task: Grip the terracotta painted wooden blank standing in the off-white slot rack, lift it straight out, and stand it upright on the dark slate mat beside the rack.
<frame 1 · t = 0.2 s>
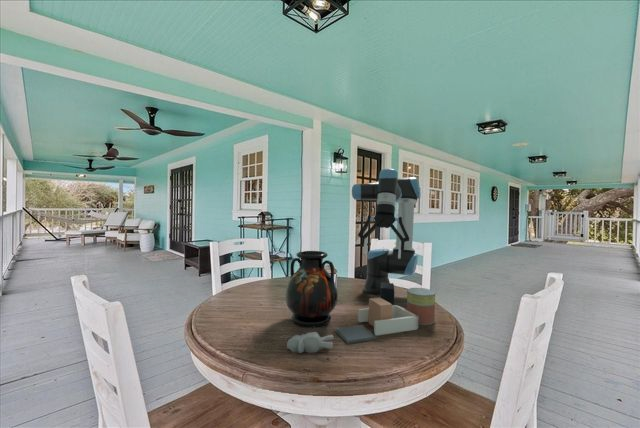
hand: (381, 256, 120), 27 cm above the table, tool tilted 15°, fingers open, 13 cm apart
blank: (380, 313, 120), in the slot rack
bunny figurine: (310, 350, 100), on the table
slate mat: (355, 335, 111), on the table
slot rack: (379, 326, 120), on the table
amphora vase: (311, 320, 125), on the table
canned food: (420, 320, 127), on the table
small box: (386, 307, 143), on the table
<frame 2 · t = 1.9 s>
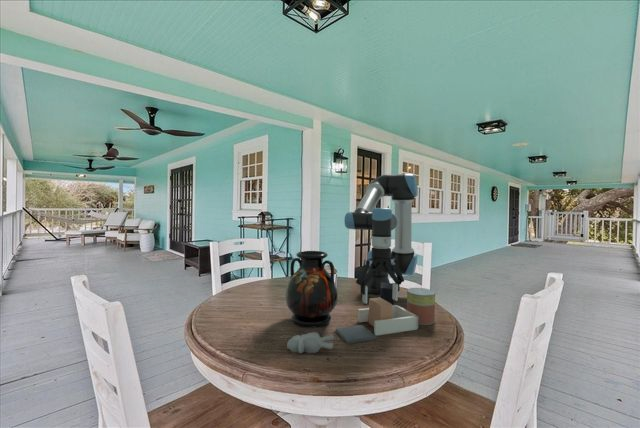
hand: (380, 301, 119), 10 cm above the table, tool pointing down, fingers open, 13 cm apart
nothing on the table moved.
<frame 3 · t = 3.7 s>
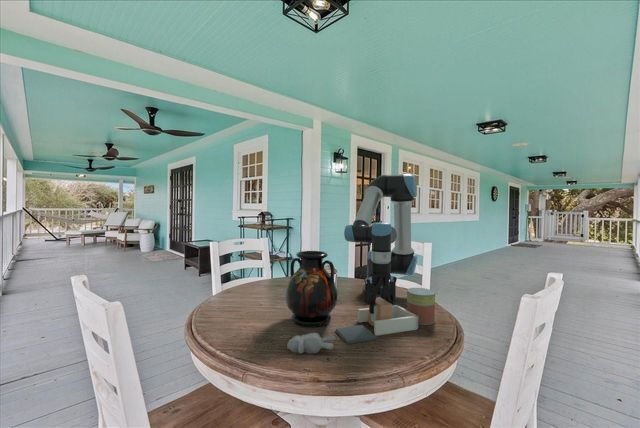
hand: (380, 320, 120), 2 cm above the table, tool pointing down, fingers closed on blank, 5 cm apart
blank: (380, 313, 120), in the slot rack, touching gripper
everything else where it was.
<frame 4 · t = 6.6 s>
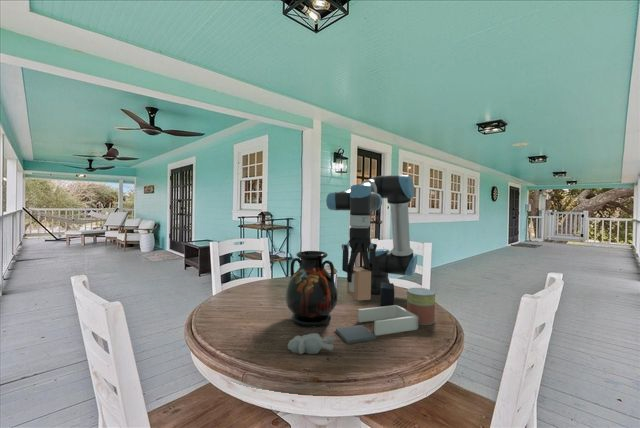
hand: (358, 290, 111), 16 cm above the table, tool pointing down, fingers closed on blank, 5 cm apart
blank: (358, 282, 111), point 19 cm above the table, touching gripper
everything else where it was.
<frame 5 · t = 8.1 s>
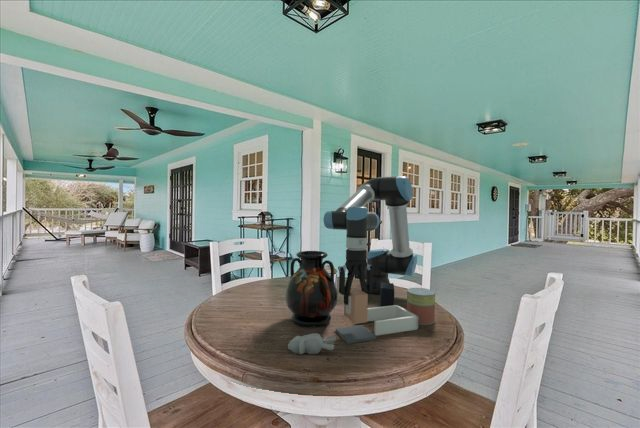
hand: (355, 312, 111), 9 cm above the table, tool pointing down, fingers closed on blank, 5 cm apart
blank: (355, 304, 111), point 11 cm above the table, touching gripper
everything else where it was.
when the fingers open (5 cm above the table, at t = 9.5 s): blank drops 1 cm, resting on slate mat.
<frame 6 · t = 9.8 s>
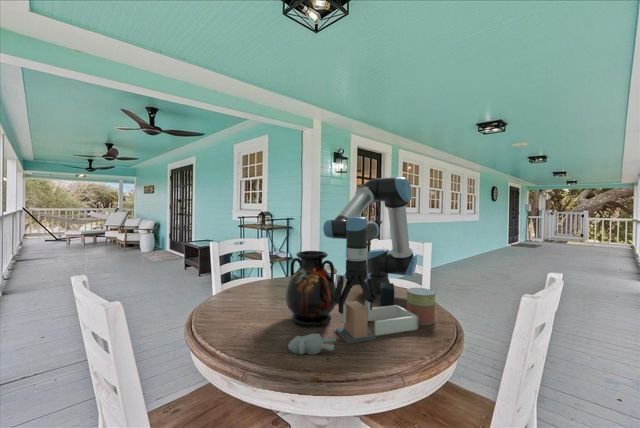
hand: (355, 320, 111), 5 cm above the table, tool pointing down, fingers open, 9 cm apart
blank: (355, 318, 111), on the slate mat, point 6 cm above the table
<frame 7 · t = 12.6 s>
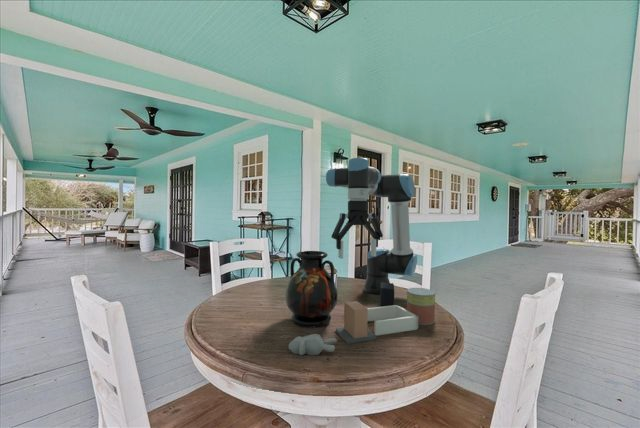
hand: (357, 257, 113), 28 cm above the table, tool pointing down, fingers open, 13 cm apart
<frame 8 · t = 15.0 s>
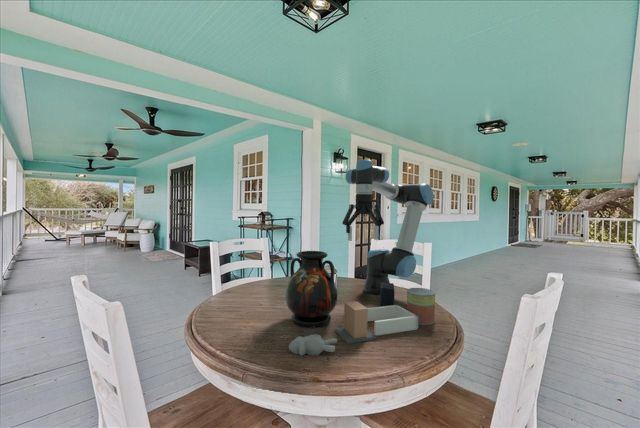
hand: (363, 240, 140), 32 cm above the table, tool pointing down, fingers open, 13 cm apart
at the end: blank inside the target area (0.0 cm from its centre), point 6.0 cm above the table; blank tilted 0°; the gripper is holding nothing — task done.
